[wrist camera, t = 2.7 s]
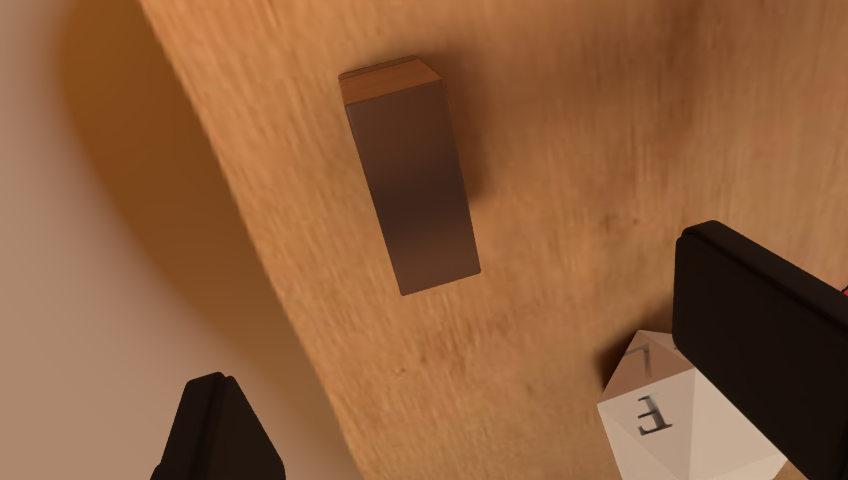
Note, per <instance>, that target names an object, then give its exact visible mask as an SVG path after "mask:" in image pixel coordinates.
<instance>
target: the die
mask: <svg viewBox="0 0 848 480" xmlns="http://www.w3.org/2000/svg"><path fill="white" fill-rule="evenodd" d="M597 407H598V410H599V413H600V416H601V419H602V422H603V425H604V428H605V430H606V433H607V436H608V439H609V442H610V445H611V448H612V451H613V454H614V457H615V459H616V462H617V465H618V468H619V471H620V474H621V477H622V480H772V479H773V478H774V477H775V476H776V474H777V473H778V472H779V470H780V469H781V468H782V466H783V465H784V464H785V462H786V461H787V460H788V459H787V458H786V457H785V456H784V455H783V454H782V453H781V452H780V451H779V450H778V449H777V448H776V447H775V446H774V445H773V444H772V443H771V442H770V441H769V440H768V439H767V438H766V437H765V436H764V435H763V434H762V433H761V432H760V431H759V430H758V429H757V428H756V427H755V426H754V425H753V424H752V423H751V422H750V421H749V420H748V419H747V418H746V417H745V416H744V415H743V414H742V413H741V412H740V411H739V410H738V409H737V408H736V407H735V406H734V405H733V404H732V403H731V402H730V401H729V400H728V399H727V398H726V397H725V396H724V395H723V394H722V393H721V392H720V391H719V390H718V389H717V388H716V387H715V386H714V385H713V384H712V383H711V382H710V381H709V380H708V379H707V378H706V377H705V376H704V375H703V374H702V373H701V372H700V371H699V370H698V369H697V368H696V367H695V366H694V365H692V364H691V363H690V362H689V361H688V360H687V359H686V358H685V357H684V356H683V355H682V354H681V353H680V351H679V350H678V349H677V348H676V346H675V344H674V342H673V338H672V334H667V333H659V332H652V331H644V330H638V331H637V332H636V334H635V336H634V338H633V340H632V341H631V343H630V345H629V347H628V349H627V350H626V352H625V354H624V356H623V358H622V359H621V361H620V363H619V365H618V367H617V368H616V370H615V372H614V374H613V375H612V377H611V379H610V381H609V383H608V384H607V386H606V388H605V390H604V392H603V393H602V395H601V397H600V399H599V401H598V402H597Z"/></svg>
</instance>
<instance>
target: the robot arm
mask: <svg viewBox="0 0 848 480" xmlns="http://www.w3.org/2000/svg"><path fill="white" fill-rule="evenodd" d="M672 338H673V342H674V344H675V346H676V348H677V349H678V350H679V351H680V353H681V354H682V355H683V356H684V357H685V358H686V359H687V360H688V361H689V362H690V363H691V364H692V365H694V366H695V367H696V368H697V369H698V370H699V371H700V372H701V373H702V374H703V375H704V376H705V377H706V378H707V379H708V380H709V381H710V382H711V383H712V384H713V385H714V386H715V387H716V388H717V389H718V390H719V391H720V392H721V393H722V394H723V395H724V396H725V397H726V398H727V399H728V400H729V401H730V402H731V403H732V404H733V405H734V406H735V407H736V408H737V409H738V410H739V411H740V412H741V413H742V414H743V415H744V416H745V417H746V418H747V419H748V420H749V421H750V422H751V423H752V424H753V425H754V426H755V427H756V428H757V429H758V430H759V431H760V432H761V433H762V434H763V435H764V436H765V437H766V438H767V439H768V440H769V441H770V442H771V443H772V444H773V445H774V446H775V447H776V448H777V449H778V450H779V451H780V452H781V453H782V454H783V455H784V456H785V457H786V458H787V459H788V460H789V461H790V462H791V463H792V464H793V465H794V466H795V467H796V468H797V469H798V470H799V471H800V472H801V473H802V474H803V475H804V476H805V477H806V478H808V479H809V480H848V296H847V295H846V294H844V293H842V292H840V291H839V290H837V289H835V288H833V287H832V286H830V285H828V284H826V283H825V282H823V281H821V280H820V279H818V278H816V277H814V276H813V275H811V274H809V273H807V272H806V271H804V270H802V269H800V268H799V267H797V266H795V265H793V264H792V263H790V262H788V261H787V260H785V259H783V258H781V257H780V256H778V255H776V254H774V253H773V252H771V251H769V250H767V249H766V248H764V247H762V246H760V245H759V244H757V243H755V242H753V241H752V240H750V239H748V238H747V237H745V236H743V235H741V234H740V233H738V232H736V231H734V230H733V229H731V228H729V227H727V226H726V225H724V224H722V223H720V222H718V221H716V220H710V221H707V222H704V223H701V224H697V225H694V226H691V227H688V228H686V229H684V230H683V232H682V235H681V237H680V238H678V239H677V241H676V251H675V274H674V297H673V319H672ZM150 480H286V476H285V469H284V465H283V462H282V460H281V458H280V456H279V455H278V453H277V451H276V449H275V448H274V446H273V444H272V442H271V441H270V439H269V437H268V436H267V434H266V432H265V430H264V429H263V427H262V425H261V423H260V421H259V420H258V418H257V416H256V414H255V413H254V411H253V410H252V408H251V406H250V404H249V402H248V401H247V399H246V397H245V395H244V393H243V392H242V390H241V388H240V387H239V385H238V383H237V381H236V380H235V378H234V377H233V376H228V377H225V376H224V375H223V374H222V373H221V372H215V373H212V374H209V375H205V376H202V377H199V378H196V379H192V380H190V381H189V382H187V384H186V386H185V388H184V391H183V394H182V398H181V401H180V404H179V407H178V410H177V413H176V416H175V419H174V423H173V425H172V429H171V432H170V435H169V438H168V441H167V444H166V447H165V450H164V453H163V456H162V460H161V463H160V464H159V465H158V466H157V467H156V468H155V470H154V472H153V474H152V476H151V478H150Z"/></svg>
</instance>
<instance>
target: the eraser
mask: <svg viewBox="0 0 848 480" xmlns="http://www.w3.org/2000/svg"><path fill="white" fill-rule="evenodd" d="M338 79H339V84H340V89H341V93H342V98H343V103H344V107H345V111H346V114H347V117H348V121H349V124H350V127H351V131H352V134H353V137H354V141H355V144H356V147H357V151H358V154H359V157H360V161H361V164H362V167H363V170H364V174H365V177H366V180H367V184H368V187H369V190H370V194H371V197H372V200H373V204H374V207H375V210H376V213H377V217H378V220H379V223H380V227H381V230H382V233H383V237H384V240H385V243H386V247H387V250H388V253H389V256H390V260H391V263H392V266H393V270H394V273H395V276H396V280H397V283H398V286H399V290H400V293H401V295H402V296H405V295H409V294H412V293H415V292H419V291H422V290H425V289H429V288H432V287H436V286H439V285H442V284H446V283H449V282H452V281H456V280H459V279H462V278H466V277H469V276H472V275H476V274H479V273H480V272H481V269H480V264H479V258H478V253H477V248H476V243H475V237H474V232H473V227H472V222H471V216H470V211H469V206H468V201H467V196H466V190H465V185H464V180H463V175H462V169H461V164H460V159H459V154H458V148H457V143H456V138H455V133H454V128H453V122H452V117H451V112H450V107H449V101H448V96H447V91H446V86H445V81H444V79H443V78H441V77H440V76H439V75H438V74H436V73H435V72H434V71H433V70H432V69H430V68H429V67H428V66H427V65H425V64H424V63H423V62H422V61H420V60H419V59H418V58H417V57H415V56H413V55H412V56H409V57H405V58H401V59H397V60H394V61H390V62H386V63H382V64H379V65H375V66H371V67H367V68H364V69H360V70H356V71H352V72H349V73H345V74H341V75H339V76H338Z"/></svg>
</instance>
